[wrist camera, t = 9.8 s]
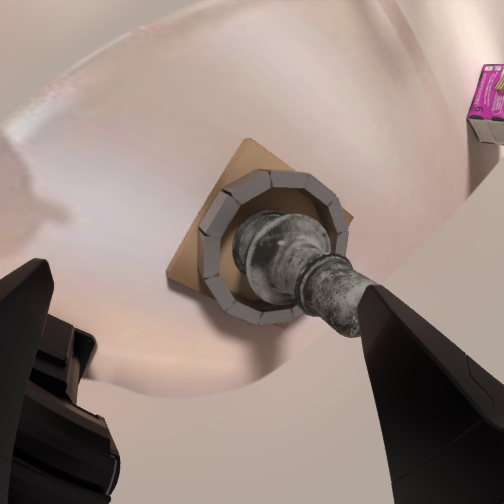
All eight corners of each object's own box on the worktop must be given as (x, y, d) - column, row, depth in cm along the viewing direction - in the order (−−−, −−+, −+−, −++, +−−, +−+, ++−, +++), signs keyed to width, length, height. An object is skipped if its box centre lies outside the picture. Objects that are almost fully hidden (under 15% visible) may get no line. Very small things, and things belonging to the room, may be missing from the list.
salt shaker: (306, 271, 24) (420, 352, 14) (235, 293, 23) (325, 406, 12) (300, 196, 22) (437, 243, 12) (221, 213, 21) (325, 287, 10)
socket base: (278, 321, 26) (296, 341, 24) (165, 271, 22) (171, 290, 19) (344, 214, 26) (369, 222, 23) (244, 138, 21) (263, 137, 18)
